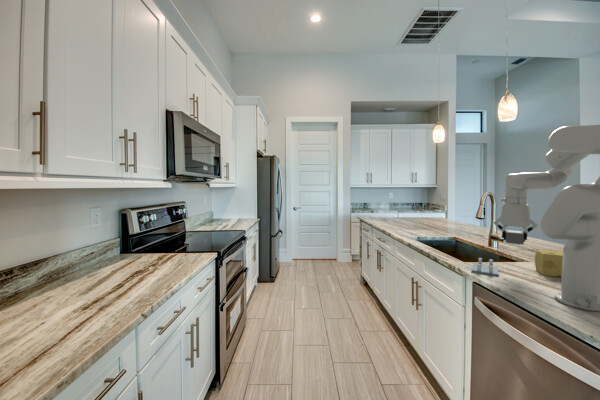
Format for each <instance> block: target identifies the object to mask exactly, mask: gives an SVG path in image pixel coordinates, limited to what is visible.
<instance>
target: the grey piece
mask: <svg viewBox="0 0 600 400" xmlns="http://www.w3.org/2000/svg"><path fill="white" fill-rule="evenodd" d="M472 263H473V264H472V267H471V273H474V274H481V275H486V276H492V277H493V276H494V277H499V275H500V274H499V266H497V265H494V260H493V259H490V258H489V260H488V264H483V258H482V257H478V263H477V262H475V263H474V262H472Z"/></svg>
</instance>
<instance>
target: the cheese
mask: <svg viewBox="0 0 600 400" xmlns="http://www.w3.org/2000/svg"><path fill="white" fill-rule="evenodd" d="M562 261H563V250H562V251H561V250H560V251H557V250H556V251H555V250H543V249H536V251H535V256H534V266H535V270H536V271H537V272H539V273H540V274H541V275H542V276H547V277H560V278H562Z"/></svg>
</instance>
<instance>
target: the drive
mask: <svg viewBox="0 0 600 400" xmlns="http://www.w3.org/2000/svg"><path fill="white" fill-rule="evenodd" d="M505 230H506V240H505V243H506V244H512V245H514V244H515V245H522V246H523V245H524V244H525V242H524V233H523V231H524V230H511V229H510V230H509V229H505Z"/></svg>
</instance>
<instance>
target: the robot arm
mask: <svg viewBox="0 0 600 400" xmlns="http://www.w3.org/2000/svg"><path fill="white" fill-rule="evenodd" d="M548 137H549V138H548V140H547V141H548V142H547V145H548V147H549V148H550V151H548V152H547V153H546V155H545V162H546V163H547V164H548V165H549V166H550V167H551V169H549V170H547V171H544V172H543V171H540V172H539V171H538V172H537V171H536V172H533V171H532V172H519V173H509V174H507V175H506V176H505V192H504V197H503V198H500V199H501V200H500V201H501V202H503V204H502V206H501V211H500V217H498V218H497V219H496V220H495V221H493V224H494V225H495V226H496V227H497V228H498V229H499V230H500V231H502V232H501V238H502V239H503V241H506V230H507V227H517V228H522V231H523V233H524V243H526V241H528V233H530V232H531V231H533V230H534V229H536V228H537V227H538V224H537V223H536V222H534V221H533V220H532V219H531V210H530V209H531V208H530V205H529V204H528V203H527V202H528V201H527V200H528V191H548V190H552V189H554V188H556V187H557V186H559V185H561V184H562V183H563V184H564V182H565V181H566V180H568V179H569V177H570V175H571V173H572V167H574V166H575V165H577V164H578V163H579V162H581V161H582V160H584V159H585V158H587V157H588V156H589V155H600V124H591V125H589V124H588V125H564V126H561V127H559V128H557V129H555V130H554V131H552V133H551V134H550V135H549V136H548ZM499 223H500V224H499ZM530 225H531V226H530ZM539 225H540V230H541V232H542V234H544V236H546V237H548V238H550V239H552V240H563V241H564V240H567V241H566V242H565V244H564V246H563V249H562V251H563V261H562V277H561V286H560V287H561V289H560V290H561V291H560V292H557V293H555V294H554V299H555V300H556V301H558V302H560V303H562V304H565V305H567V306H569V307H573V308H577V309H580V310H585V311H591V312H598V313H599V312H600V176H599V177H598V178H597V179H596V180H595V181H594V182H592V183H577V184H572V185H569V186H566V187H564V188H562V189H561V190H560V191H559V192H558V193H557V194H556V196H555V198H554V199H553V201H552V202H551V203H550V205H549V206H548V208H547V210H546V211H545V212H544V214H543V216H542V218H541V220H540V224H539Z"/></svg>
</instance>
